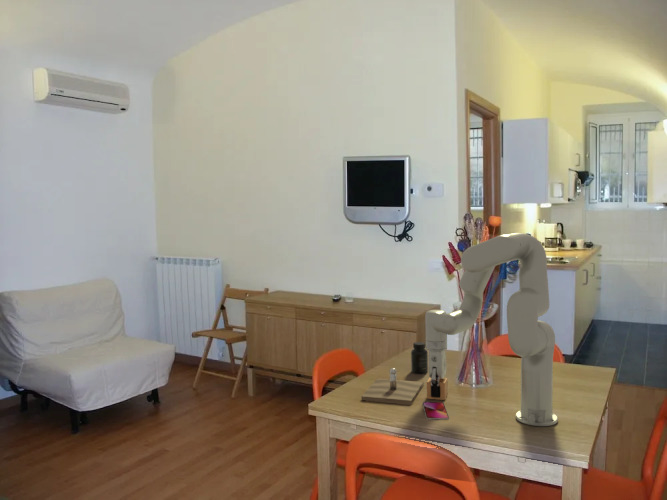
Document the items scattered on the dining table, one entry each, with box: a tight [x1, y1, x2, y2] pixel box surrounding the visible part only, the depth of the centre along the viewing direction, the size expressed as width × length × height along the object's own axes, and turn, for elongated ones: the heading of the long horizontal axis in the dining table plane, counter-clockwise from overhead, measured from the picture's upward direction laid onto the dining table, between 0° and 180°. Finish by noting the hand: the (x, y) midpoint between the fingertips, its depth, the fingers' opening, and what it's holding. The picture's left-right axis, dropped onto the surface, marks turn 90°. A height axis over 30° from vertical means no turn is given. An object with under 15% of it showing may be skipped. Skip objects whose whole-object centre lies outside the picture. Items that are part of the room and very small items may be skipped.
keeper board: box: [360, 378, 424, 406], centre depth 218 cm, size 22×18×2 cm
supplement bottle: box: [410, 341, 429, 375], centre depth 243 cm, size 7×7×12 cm
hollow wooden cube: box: [426, 376, 449, 401], centre depth 212 cm, size 6×6×6 cm
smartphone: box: [422, 401, 450, 421], centre depth 198 cm, size 7×1×15 cm
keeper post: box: [389, 367, 398, 390], centre depth 218 cm, size 3×3×8 cm
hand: (437, 393), depth 212 cm, fingers closed on hollow wooden cube, 6 cm apart
